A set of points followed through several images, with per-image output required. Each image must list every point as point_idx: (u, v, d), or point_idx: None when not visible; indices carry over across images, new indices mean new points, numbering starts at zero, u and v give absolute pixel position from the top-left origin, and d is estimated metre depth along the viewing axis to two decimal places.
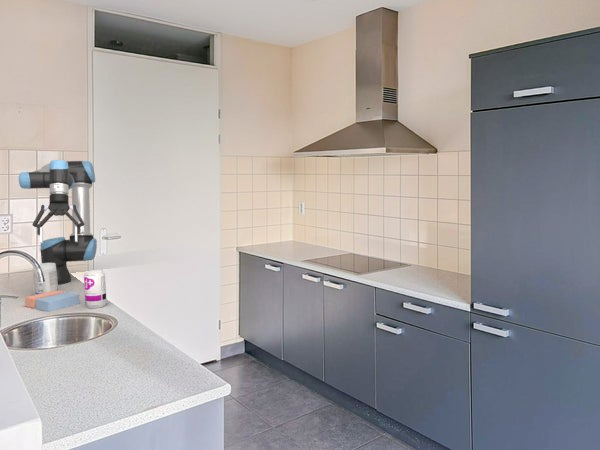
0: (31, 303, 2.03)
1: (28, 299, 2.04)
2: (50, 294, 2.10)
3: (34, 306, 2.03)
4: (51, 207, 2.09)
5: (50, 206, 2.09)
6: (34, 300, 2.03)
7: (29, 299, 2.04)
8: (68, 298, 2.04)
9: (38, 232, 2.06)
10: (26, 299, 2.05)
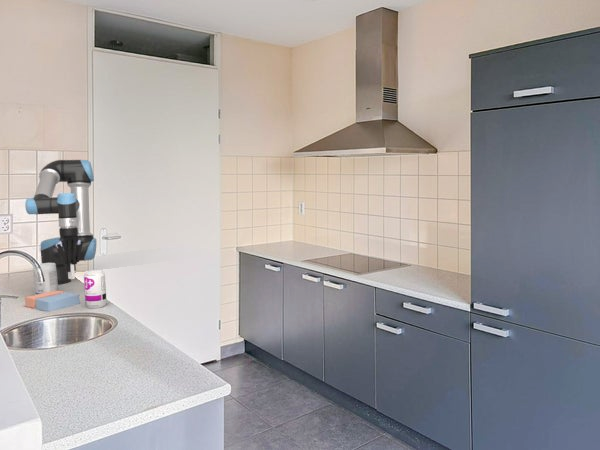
0: (31, 303, 2.03)
1: (28, 299, 2.04)
2: (50, 294, 2.10)
3: (34, 306, 2.03)
4: (64, 240, 2.16)
5: (63, 240, 2.15)
6: (34, 300, 2.03)
7: (29, 299, 2.04)
8: (68, 298, 2.04)
9: (69, 269, 2.18)
10: (26, 299, 2.05)
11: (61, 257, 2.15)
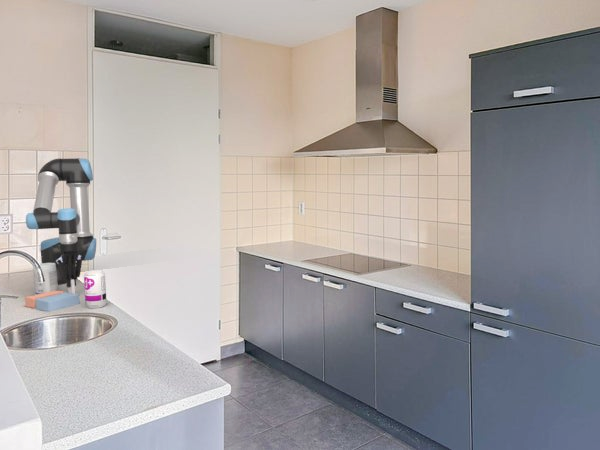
0: (31, 303, 2.03)
1: (28, 299, 2.04)
2: (50, 294, 2.10)
3: (34, 306, 2.03)
4: (65, 256, 2.16)
5: (64, 256, 2.16)
6: (34, 300, 2.03)
7: (29, 299, 2.04)
8: (68, 298, 2.04)
9: (69, 285, 2.19)
10: (26, 299, 2.05)
11: (61, 273, 2.16)
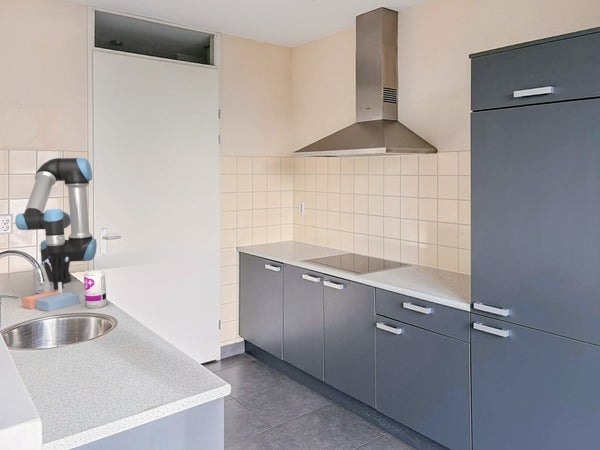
0: (28, 304, 2.02)
1: (25, 300, 2.03)
2: (47, 295, 2.09)
3: (31, 307, 2.02)
4: (52, 258, 2.11)
5: (50, 258, 2.10)
6: (31, 301, 2.02)
7: (26, 300, 2.03)
8: (68, 298, 2.04)
9: (56, 287, 2.14)
10: (23, 300, 2.04)
11: (48, 275, 2.11)
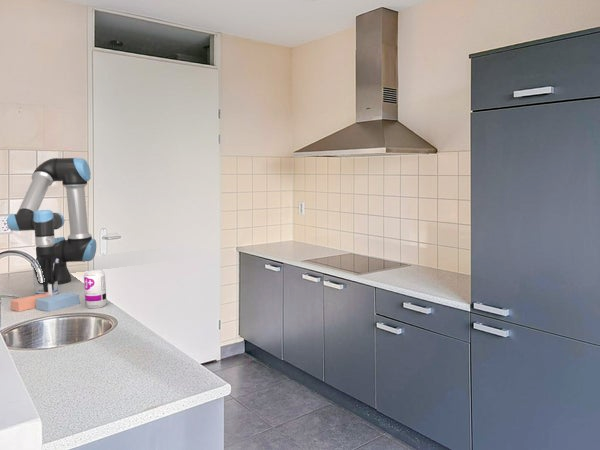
0: (17, 306, 1.98)
1: (14, 302, 1.99)
2: (36, 297, 2.05)
3: (20, 309, 1.98)
4: (41, 260, 2.07)
5: (40, 260, 2.06)
6: (20, 303, 1.98)
7: (15, 302, 1.99)
8: (68, 298, 2.04)
9: (46, 289, 2.10)
10: (12, 302, 2.00)
11: None
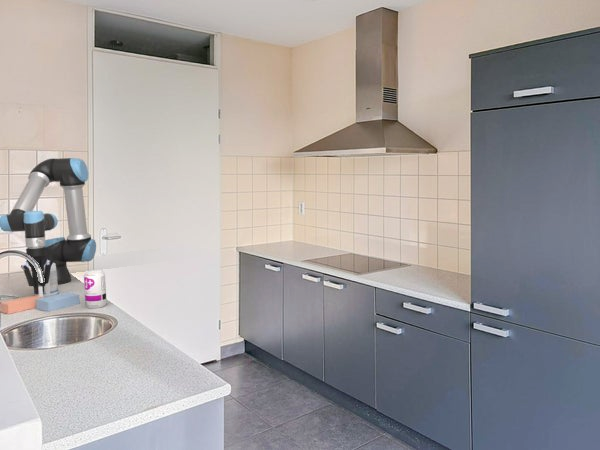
0: (6, 309, 1.95)
1: (3, 305, 1.96)
2: (27, 299, 2.01)
3: (9, 312, 1.95)
4: None
5: None
6: (9, 306, 1.95)
7: (4, 305, 1.95)
8: (68, 298, 2.04)
9: (36, 292, 2.06)
10: (1, 305, 1.97)
11: (28, 279, 2.03)
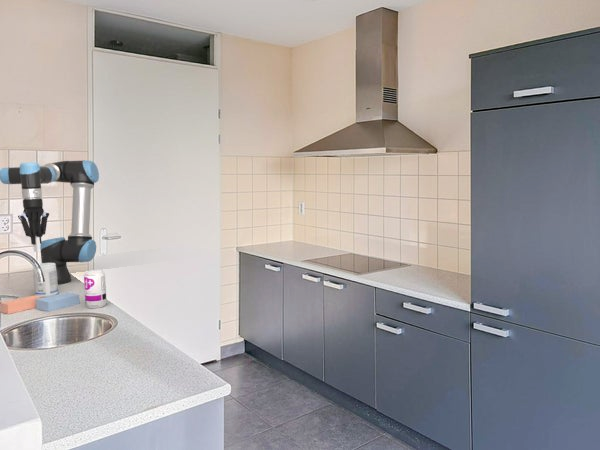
0: (6, 309, 1.95)
1: (3, 305, 1.96)
2: (27, 299, 2.01)
3: (9, 312, 1.95)
4: (28, 212, 2.08)
5: (27, 212, 2.07)
6: (9, 306, 1.94)
7: (4, 305, 1.95)
8: (68, 298, 2.04)
9: (34, 242, 2.11)
10: (1, 305, 1.97)
11: (25, 229, 2.08)
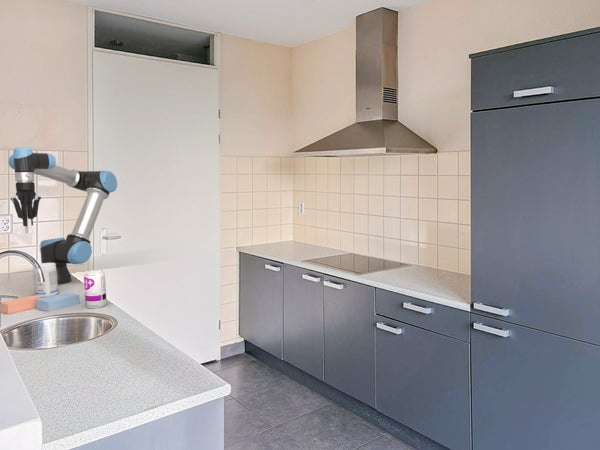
0: (6, 309, 1.95)
1: (3, 305, 1.96)
2: (27, 299, 2.01)
3: (9, 312, 1.95)
4: (21, 194, 2.18)
5: (19, 194, 2.18)
6: (9, 306, 1.94)
7: (4, 305, 1.95)
8: (68, 298, 2.04)
9: (25, 224, 2.21)
10: (1, 305, 1.97)
11: (17, 211, 2.18)
